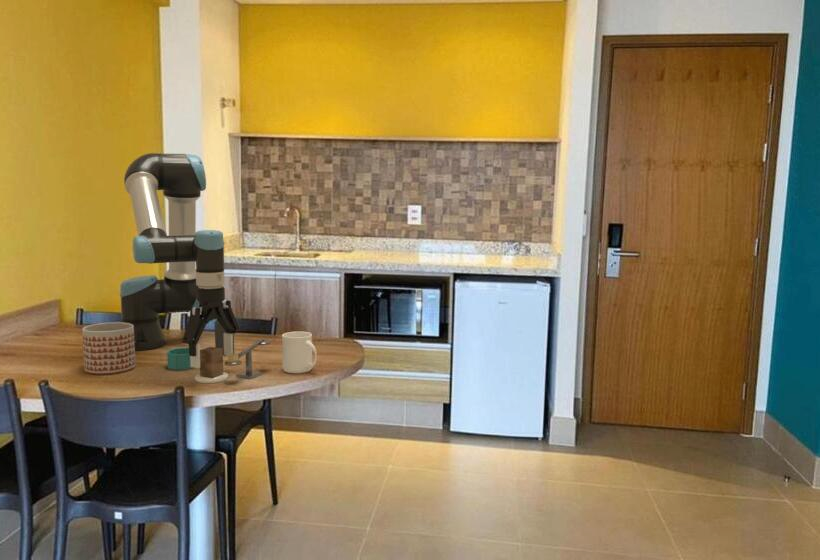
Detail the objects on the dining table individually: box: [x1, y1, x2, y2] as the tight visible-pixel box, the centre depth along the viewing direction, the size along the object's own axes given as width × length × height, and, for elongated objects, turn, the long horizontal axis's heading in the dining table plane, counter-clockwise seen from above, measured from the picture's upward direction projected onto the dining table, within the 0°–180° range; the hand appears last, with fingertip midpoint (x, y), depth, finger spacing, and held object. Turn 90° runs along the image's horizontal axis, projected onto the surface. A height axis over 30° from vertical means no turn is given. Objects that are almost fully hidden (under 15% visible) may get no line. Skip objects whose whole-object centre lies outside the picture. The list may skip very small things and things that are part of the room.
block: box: [199, 346, 224, 378], centre depth 184 cm, size 4×4×8 cm
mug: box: [281, 331, 318, 374], centre depth 193 cm, size 9×12×11 cm
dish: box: [194, 371, 229, 384], centre depth 185 cm, size 9×9×1 cm
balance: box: [224, 338, 272, 380], centre depth 188 cm, size 5×18×9 cm, turn 156°
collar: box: [166, 347, 195, 371], centre depth 198 cm, size 8×8×5 cm
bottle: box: [214, 310, 235, 357], centre depth 212 cm, size 6×6×15 cm
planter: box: [81, 321, 136, 376], centre depth 193 cm, size 14×14×13 cm
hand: (212, 361), depth 185 cm, fingers open, 13 cm apart
